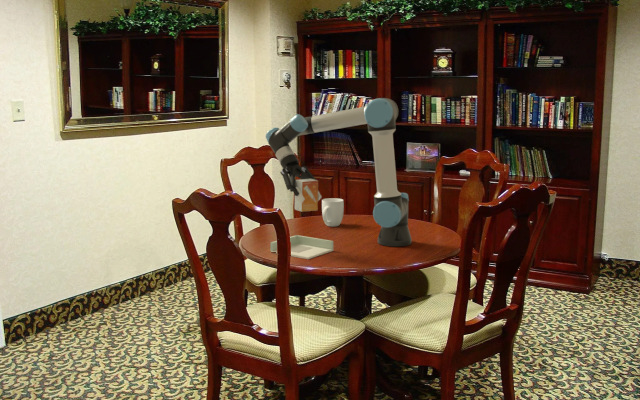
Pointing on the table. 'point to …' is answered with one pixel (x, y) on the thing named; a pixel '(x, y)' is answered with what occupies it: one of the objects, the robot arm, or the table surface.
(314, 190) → the small box
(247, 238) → the table surface
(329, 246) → the tray
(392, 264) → the table surface
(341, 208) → the mug
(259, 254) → the table surface
